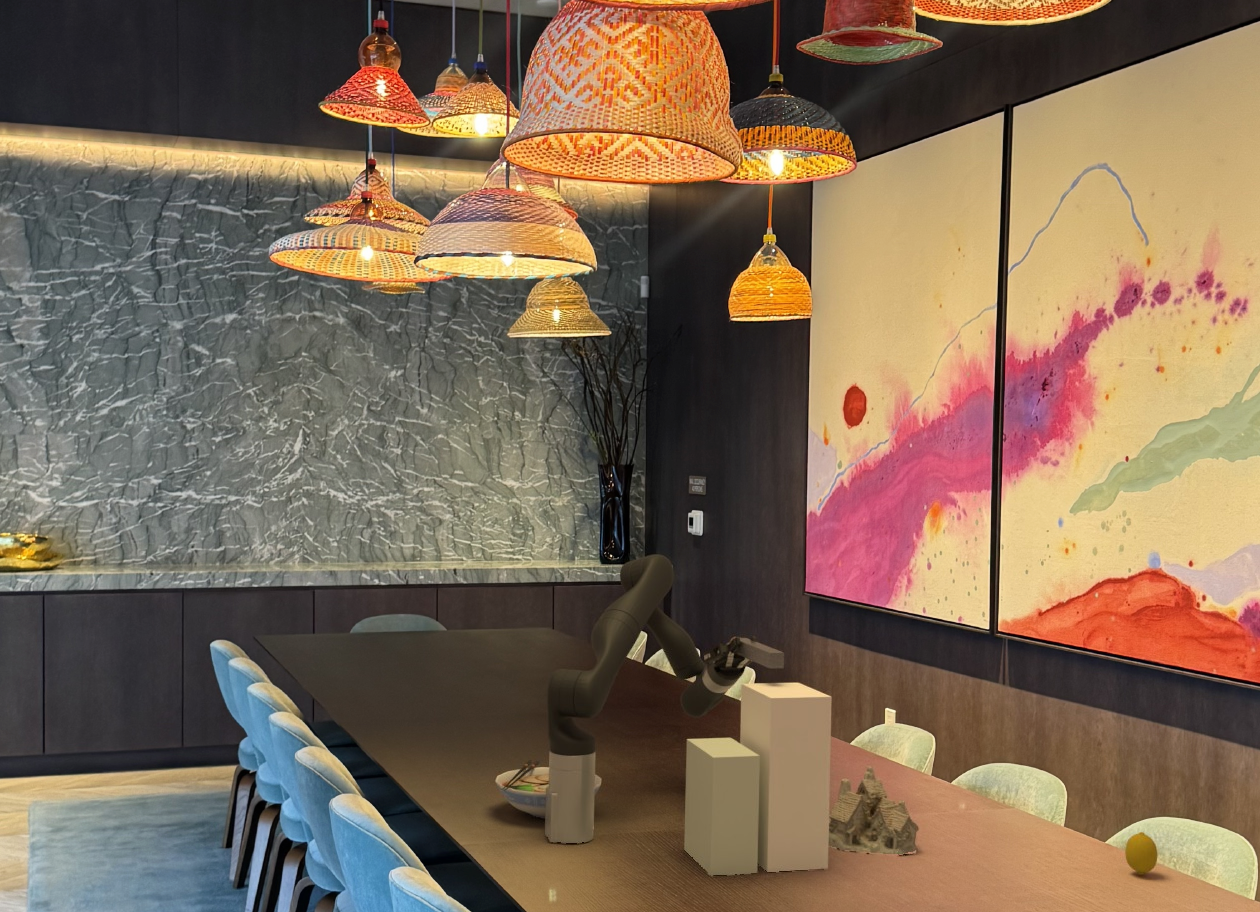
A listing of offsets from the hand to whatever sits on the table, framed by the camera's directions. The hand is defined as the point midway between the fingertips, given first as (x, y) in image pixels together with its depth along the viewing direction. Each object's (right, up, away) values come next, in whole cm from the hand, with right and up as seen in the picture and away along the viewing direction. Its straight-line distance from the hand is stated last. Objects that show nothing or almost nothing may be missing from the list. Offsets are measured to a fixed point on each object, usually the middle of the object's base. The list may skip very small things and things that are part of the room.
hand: (746, 641), depth 259 cm
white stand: (+5, -38, -22) cm, 44 cm away
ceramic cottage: (+23, -39, -12) cm, 47 cm away
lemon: (+71, -40, -27) cm, 86 cm away
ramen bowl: (-42, -38, +5) cm, 57 cm away
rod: (+2, -3, -6) cm, 7 cm away
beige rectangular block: (-7, -38, -25) cm, 46 cm away
